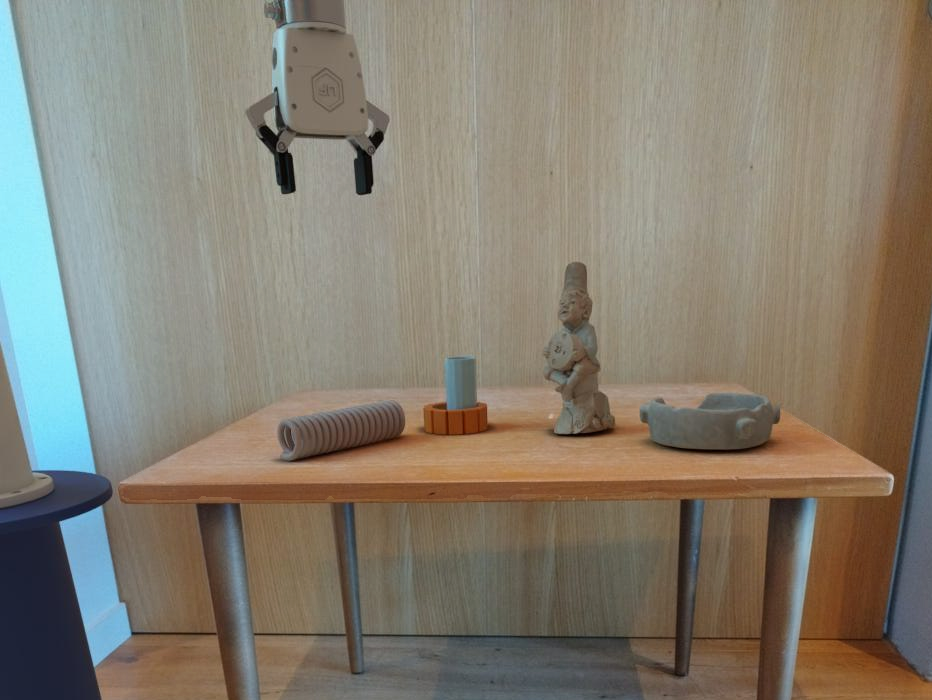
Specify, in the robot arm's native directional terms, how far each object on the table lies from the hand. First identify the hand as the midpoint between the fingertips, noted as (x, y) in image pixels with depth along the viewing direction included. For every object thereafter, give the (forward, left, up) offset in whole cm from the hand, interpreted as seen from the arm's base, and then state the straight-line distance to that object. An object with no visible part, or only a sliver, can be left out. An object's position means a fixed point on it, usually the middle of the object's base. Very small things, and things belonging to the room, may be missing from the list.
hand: (327, 193), depth 101 cm
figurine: (+24, -19, -28) cm, 42 cm away
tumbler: (+14, -7, -28) cm, 32 cm away
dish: (+31, -35, -28) cm, 55 cm away
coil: (-4, -9, -28) cm, 30 cm away
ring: (+13, -7, -28) cm, 32 cm away
